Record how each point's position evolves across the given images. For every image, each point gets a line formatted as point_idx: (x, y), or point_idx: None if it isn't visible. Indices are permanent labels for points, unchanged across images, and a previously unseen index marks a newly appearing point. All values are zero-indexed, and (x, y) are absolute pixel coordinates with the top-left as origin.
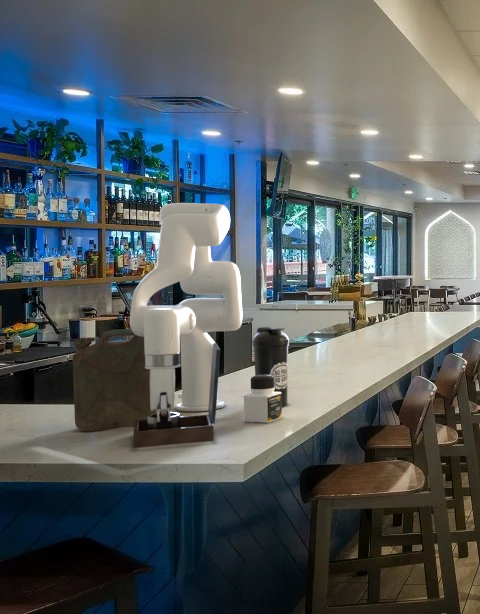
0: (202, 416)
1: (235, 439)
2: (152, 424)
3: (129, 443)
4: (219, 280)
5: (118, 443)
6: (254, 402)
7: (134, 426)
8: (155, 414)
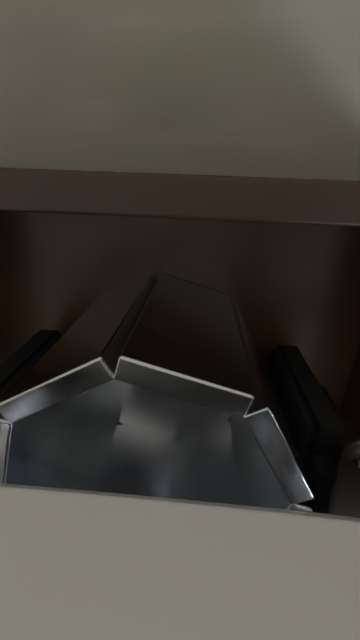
0: None
1: None
2: (51, 355)
3: (225, 139)
4: None
5: (273, 40)
6: None
7: (116, 175)
8: (257, 441)
